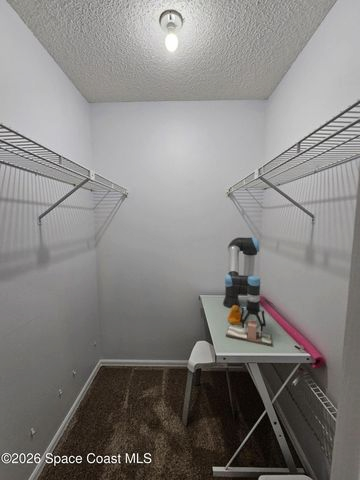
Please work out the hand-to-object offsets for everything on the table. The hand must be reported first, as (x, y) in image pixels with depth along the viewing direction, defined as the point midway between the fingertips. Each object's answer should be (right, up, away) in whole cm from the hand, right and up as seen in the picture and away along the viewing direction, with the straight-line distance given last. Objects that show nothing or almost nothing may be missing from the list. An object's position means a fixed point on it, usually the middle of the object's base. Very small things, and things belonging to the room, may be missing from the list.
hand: (252, 334), depth 133 cm
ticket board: (-2, -2, +1) cm, 3 cm away
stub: (0, -1, 0) cm, 1 cm away
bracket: (-4, -1, +21) cm, 22 cm away
